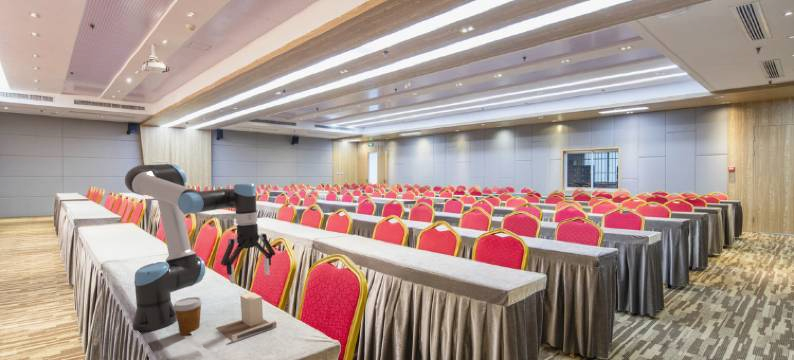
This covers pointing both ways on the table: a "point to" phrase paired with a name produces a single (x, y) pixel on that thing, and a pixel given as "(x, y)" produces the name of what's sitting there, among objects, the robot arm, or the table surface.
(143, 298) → the robot arm
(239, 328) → the shelf board
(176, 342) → the table surface
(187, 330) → the disposable coffee cup
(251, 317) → the carton
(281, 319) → the table surface
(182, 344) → the table surface
